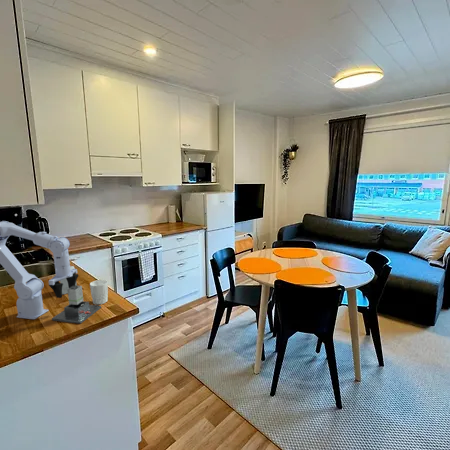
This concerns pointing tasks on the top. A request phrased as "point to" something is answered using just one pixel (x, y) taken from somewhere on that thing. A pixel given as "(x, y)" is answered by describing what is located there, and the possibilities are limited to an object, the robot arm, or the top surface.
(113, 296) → the top surface
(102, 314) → the top surface
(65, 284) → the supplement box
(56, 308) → the top surface
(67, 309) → the gray frame
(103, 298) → the white cup
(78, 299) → the steel column
